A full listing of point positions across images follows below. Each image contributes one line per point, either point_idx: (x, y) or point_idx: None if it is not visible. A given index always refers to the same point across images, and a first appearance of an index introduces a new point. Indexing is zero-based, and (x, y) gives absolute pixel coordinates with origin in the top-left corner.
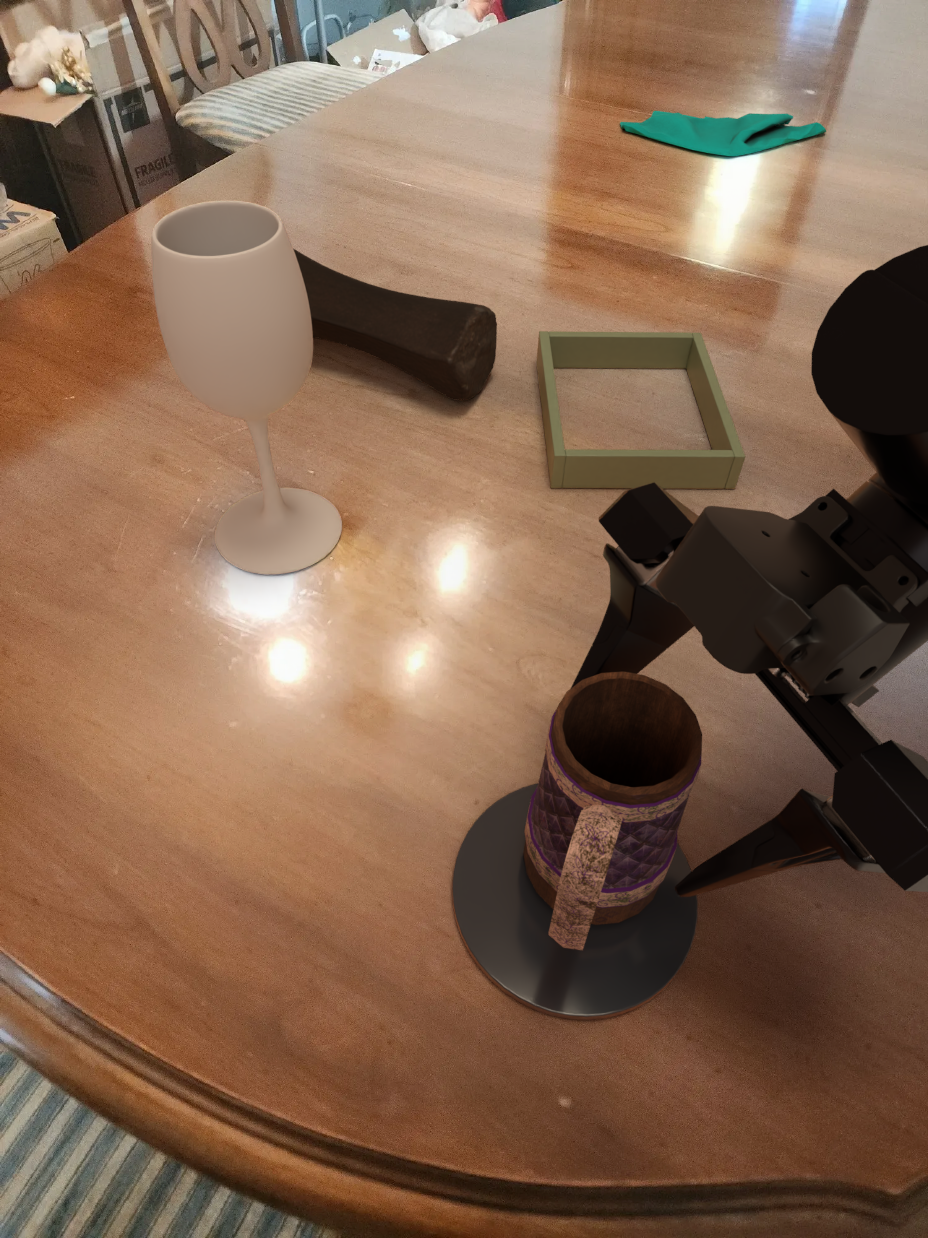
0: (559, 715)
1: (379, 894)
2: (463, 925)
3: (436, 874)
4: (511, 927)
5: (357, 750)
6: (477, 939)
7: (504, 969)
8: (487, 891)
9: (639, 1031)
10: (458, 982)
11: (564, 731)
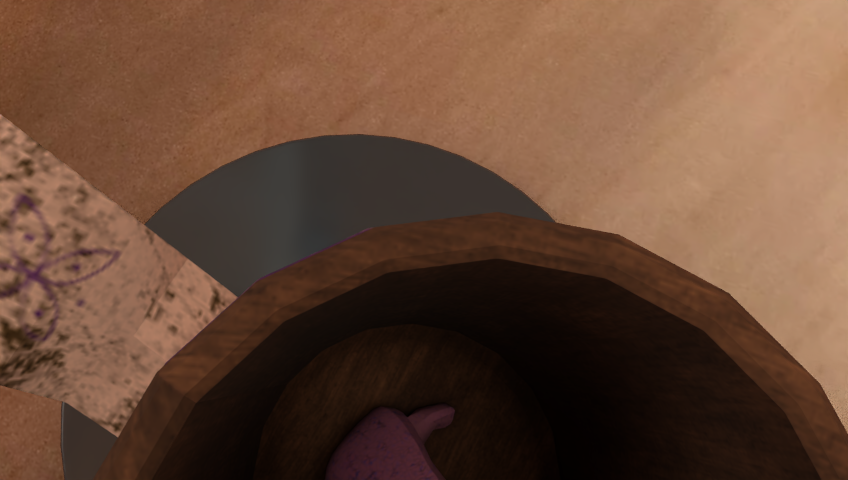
0: (672, 281)
1: (462, 13)
2: (341, 143)
3: (474, 132)
4: (305, 237)
5: (804, 45)
6: (304, 162)
7: (226, 197)
8: (398, 213)
9: (27, 437)
10: (243, 113)
11: (659, 394)
